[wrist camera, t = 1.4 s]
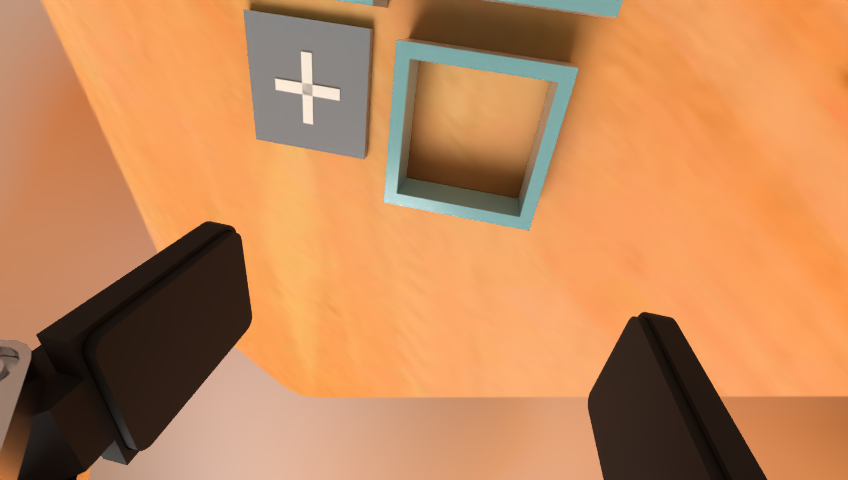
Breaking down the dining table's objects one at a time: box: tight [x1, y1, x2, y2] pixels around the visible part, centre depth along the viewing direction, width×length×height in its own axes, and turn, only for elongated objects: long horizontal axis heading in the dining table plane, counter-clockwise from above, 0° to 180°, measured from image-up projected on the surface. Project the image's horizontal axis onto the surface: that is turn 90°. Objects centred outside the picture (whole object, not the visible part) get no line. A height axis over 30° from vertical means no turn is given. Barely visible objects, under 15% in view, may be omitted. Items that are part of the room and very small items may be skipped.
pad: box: [244, 10, 373, 159], centre depth 25 cm, size 8×8×1 cm
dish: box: [384, 38, 579, 231], centre depth 24 cm, size 10×10×3 cm
